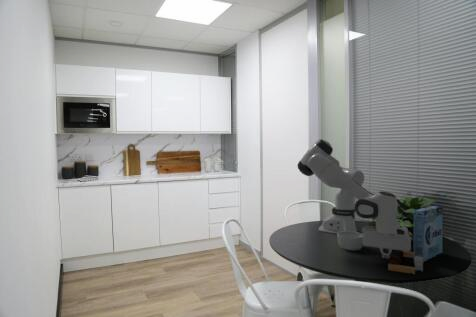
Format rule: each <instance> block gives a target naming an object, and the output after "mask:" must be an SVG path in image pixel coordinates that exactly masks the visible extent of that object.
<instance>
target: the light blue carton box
mask: <svg viewBox="0 0 476 317" xmlns="http://www.w3.org/2000/svg"><path fill="white" fill-rule="evenodd" d="M443 208H444V207H443V206H437V205H431V206H427V207H423V208H418V209H415V210H413V248H414V247H420V248H422V252H423V263H424V262H427V261H428V259H429V260H431V259H433V258H435V257H437V256H436V255H438V254H440V253H442V254H443V217H444V216H443V213H444V212H443ZM412 252H413V258H412V259H413V260H414V251H412ZM440 255H441V254H440ZM434 256H435V257H434ZM438 256H439V255H438ZM432 257H433V258H432ZM430 258H431V259H430Z"/></svg>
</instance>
